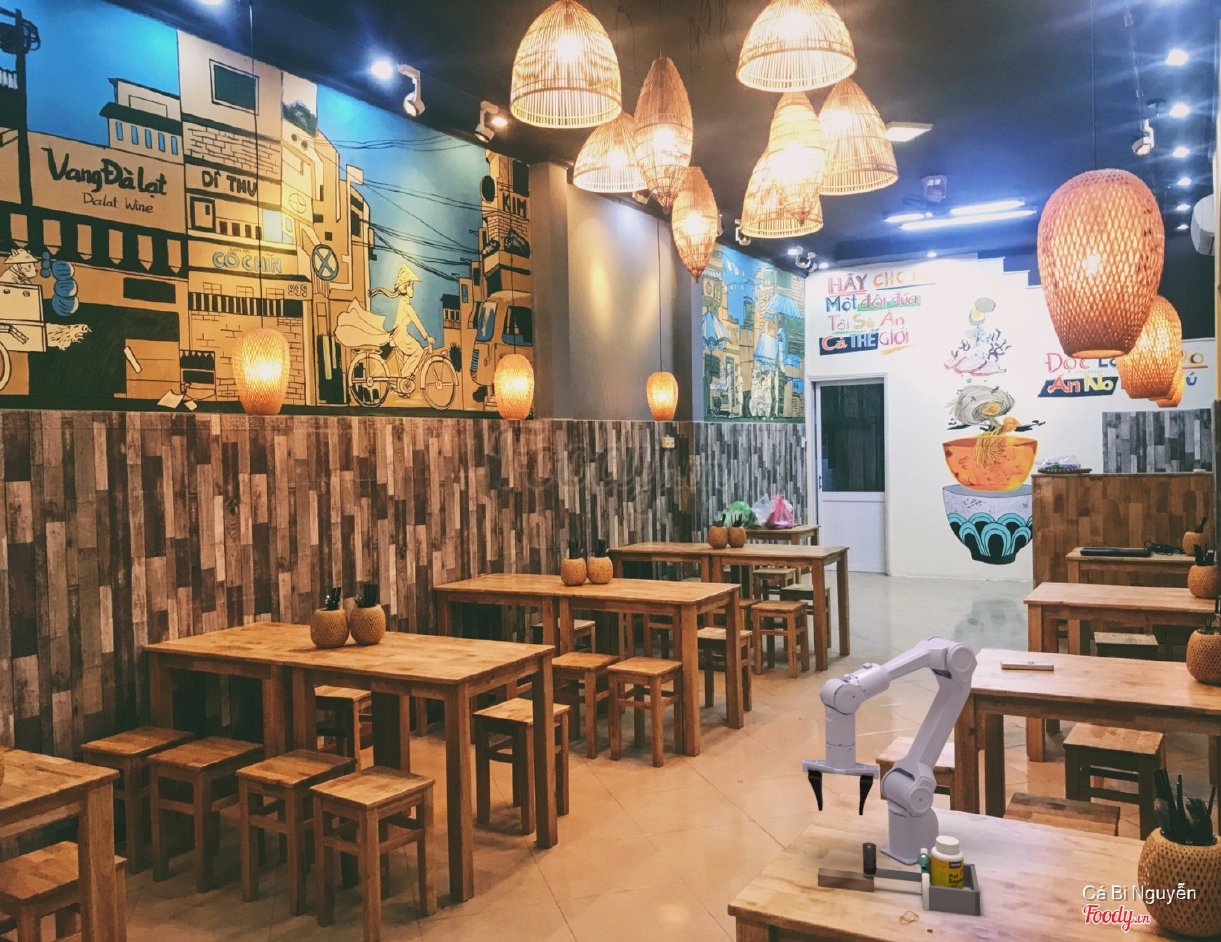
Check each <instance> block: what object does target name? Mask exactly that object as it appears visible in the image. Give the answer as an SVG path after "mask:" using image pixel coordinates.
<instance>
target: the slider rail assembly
mask: <svg viewBox="0 0 1221 942" xmlns="http://www.w3.org/2000/svg"><path fill="white" fill-rule="evenodd" d="M917 864H918V865H919V866H920V872H917V871H916V872H915V871H907V870H897V869H896V870H895V869H890V868H889V869H887V868H878V867H877V844H876V843H874V842H869V841H866V842H863V843H862V873H863V876H868V877H874V878H878V879H879V878H880V879H887V880H888V879H889V880H896V881H897V880H898V881H905V882H906V881H907V882H915V883H921V886H920V887H921V888H922V873H927V867H928V866H929V865H930V864H931V858H930V857H929V856H928V855H927V854H925V853H921V854H919V855H918V857H917ZM921 900H922V901H923V893H922V892H921Z"/></svg>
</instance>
